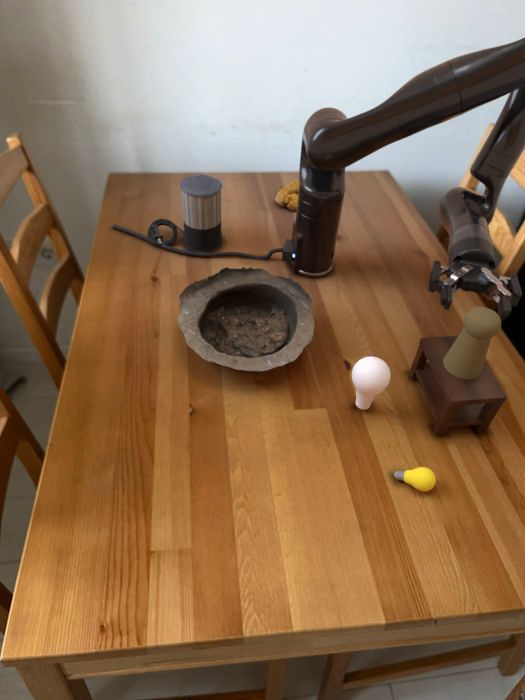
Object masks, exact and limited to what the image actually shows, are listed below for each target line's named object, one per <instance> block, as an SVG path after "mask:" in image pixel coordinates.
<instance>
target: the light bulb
mask: <svg viewBox="0 0 525 700" xmlns="http://www.w3.org/2000/svg"><path fill="white" fill-rule="evenodd" d="M393 477H394V478H395V479H396V480H397V481H402V482H404V483H406V484H408V485H410V486H411V487H413V488H415V489H416V490H417V491H419V492H429V491H431V490H433V489H434V488H435V486H436V481H437V478H436V475H435V473H434V472H433V470H432V469H430V468H429V467H426V466H419V467H415V468H413V469H406V470H403V471H402V470H396V471H395V472H394V474H393Z"/></svg>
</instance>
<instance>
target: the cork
mask: <svg viewBox="0 0 525 700" xmlns="http://www.w3.org/2000/svg"><path fill="white" fill-rule="evenodd" d="M462 323H463V328H462V330H461V331H460V332H459V335H457V336H458V337H457V339H456V341H455V342H454V344H453V345H452V347H451V348H450V350H449V351H448V353H447V354H446V356H445V357H444V360H443V363H444V367H445V368H446V369H447V371H448V372H450V373H451V374H452V375H454V376H456V377H458V378H462V379H474V378H476V377H478V376H479V375H480V373H481V371H482V368H483V364H484V361H485V360H486V357H487V355H488V352H489V351H488V350H489V347H490V344H491V340H492V338H494V337H496V335H498V333H499V332H500V330H501V326H502V320H501V319H500V317H499V315H498V312H497V311H495V310H493V309H491V308H488V307H485V306H475V307H473V308H471V309H469V310H468V311H467V313H466V314H465V315H464V317H463V322H462Z"/></svg>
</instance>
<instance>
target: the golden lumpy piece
mask: <svg viewBox="0 0 525 700" xmlns="http://www.w3.org/2000/svg"><path fill="white" fill-rule="evenodd" d="M298 196H299V180H295V181H292V182H290V183H288V184H287V185H286V186H285V187H283V188H281V189H280V190H279V191H278V192H277V194H276V196H275V197H274V201H275V203H276V204H277V205H278V206H280V207H283V208H287V209H289V210H290V211H296V212H297V205H298Z"/></svg>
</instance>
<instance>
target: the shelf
mask: <svg viewBox="0 0 525 700" xmlns="http://www.w3.org/2000/svg"><path fill="white" fill-rule="evenodd" d="M458 336H459V335H447V336H445V335H443V336H427V337H420V339H419V341H418V347H417V350H416V353H415V355H414V358H413V361H412V364H411V367H410V369H409V372H408V375H409V378H410V380H411V381H415V380H416V381H418V382H419V385H420V387H421V390H422V392H423V394H424V396H425V398H426V401H427V403H428V405H429V407H430V410H431V412H432V414H433V417H434V419H435V421H434V423H433V425H432V427H431V428H432V430H433V433H434V435H435V436H443V435H444V436H445V435H446V433H447V431H448V429H449V428H451V427H466V426H473V428H474V429H475V432H476V433H485V432H487V430H488V429H489V427H490V425H491V424H492V422H493V421H494V419H495V417H496V416H497V413H498V412H499V410H500V408H501V407H502V405H503V404H504V403H505V402H506V401H507V399H508V396H507V393H506V392H505V391H504V389H503V387H502V386H501V384H500V382H499V380H498V379H497V377H496V376H495V375H496V374H494V372H493V370H492V369H491V367H490V365H489V363H488V362H487V360H486V359H485V361H484V364H483V368H482V371H481V373H480V375H479V376H478V377H476V378H474V379H462V378H458V377H456V376H454V375H452V374H451V373H450V372H448V371H447V369H446V368H445V367H444V363H443V360H444V357H445V356H446V354H447V353H448V351H449V350H450V348H451V347H452V345H453V344H454V342H455V341H456V339H457V337H458Z"/></svg>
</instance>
